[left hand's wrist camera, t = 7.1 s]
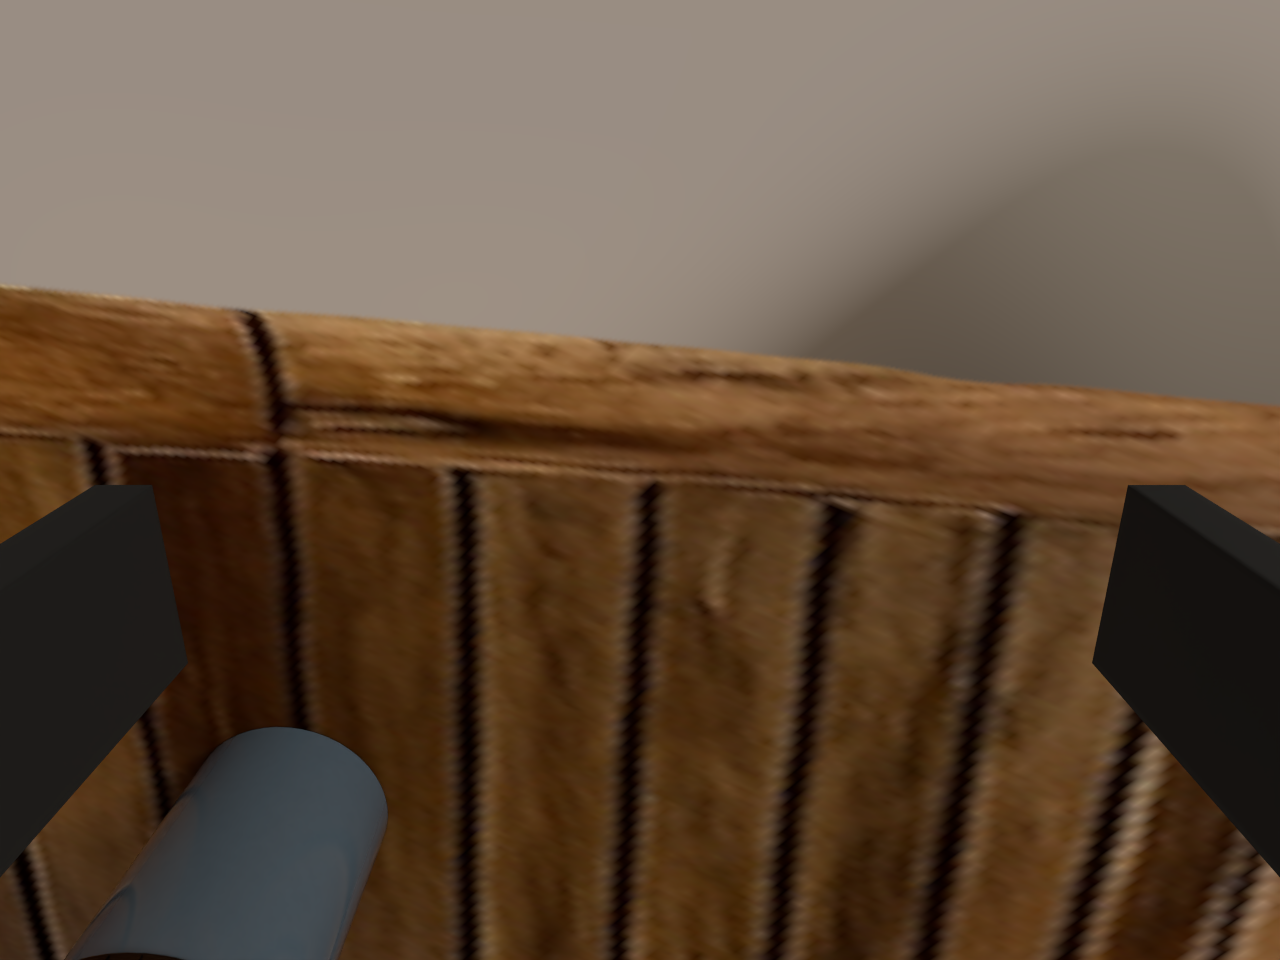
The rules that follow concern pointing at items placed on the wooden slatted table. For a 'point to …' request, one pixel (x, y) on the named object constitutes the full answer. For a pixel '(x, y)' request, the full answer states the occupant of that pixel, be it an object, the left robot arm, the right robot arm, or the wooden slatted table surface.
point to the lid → (130, 956)
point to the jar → (252, 857)
